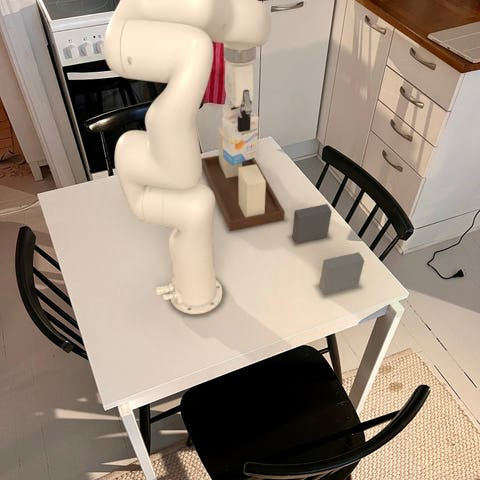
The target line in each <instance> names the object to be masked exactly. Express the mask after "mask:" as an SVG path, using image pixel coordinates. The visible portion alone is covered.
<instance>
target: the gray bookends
mask: <svg viewBox="0 0 480 480" xmlns="http://www.w3.org/2000/svg"><path fill="white" fill-rule="evenodd" d="M331 217H332V209H331V207H330V206H329V204H328V203H325V204H320V205H315V206H310V207H309V206H308V207H304V208H300V209H294V213H293V221H292V222H293V223H292V232H291V233H292V234H291V238H292V239H293V241H294V243H295V245H299V244H303V243H308V242H313V241H318V240H321V239H322V240H323V239H326V238H328V236H329V235H328V234H329V230H330V223H331ZM364 264H365V259H364V257H363V256H362V254H361V253H360V251H358V252H354V253H349V254H344V255H339V256H336V257H331V258H326V259H323V263H322V267H321V268H322V269H321V273H320V278H319V285H318V287H319V289H320V291H321V293H322V294H323V295H324V296H326V295H330V294H335V293H338V292H339V293H340V292H342V291H347V290H351V289H356V288H358V287H359V285H360V281H361V280H360V279H361V276H362V272H363V268H364Z"/></svg>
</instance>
